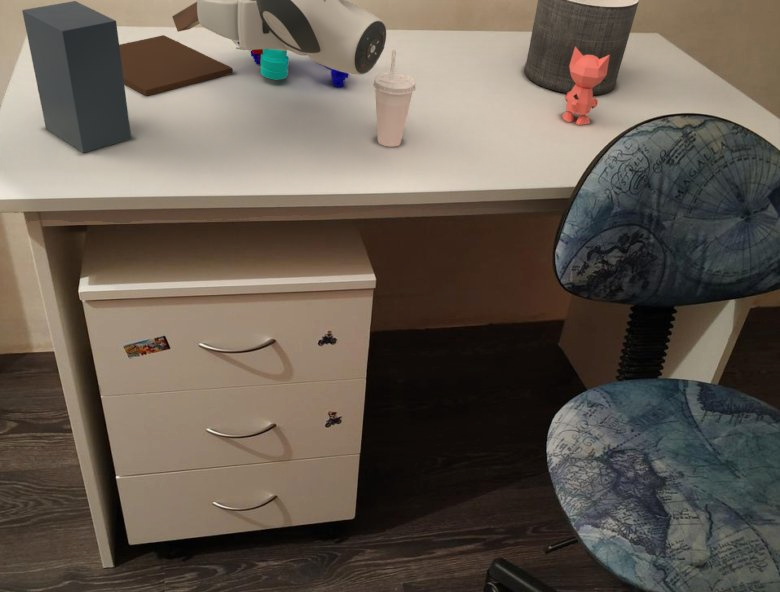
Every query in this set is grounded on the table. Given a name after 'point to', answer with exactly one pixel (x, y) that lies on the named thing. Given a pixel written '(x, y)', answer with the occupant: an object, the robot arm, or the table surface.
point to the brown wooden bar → (186, 18)
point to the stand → (78, 74)
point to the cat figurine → (584, 85)
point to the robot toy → (283, 65)
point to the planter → (578, 39)
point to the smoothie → (392, 104)
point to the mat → (166, 65)
